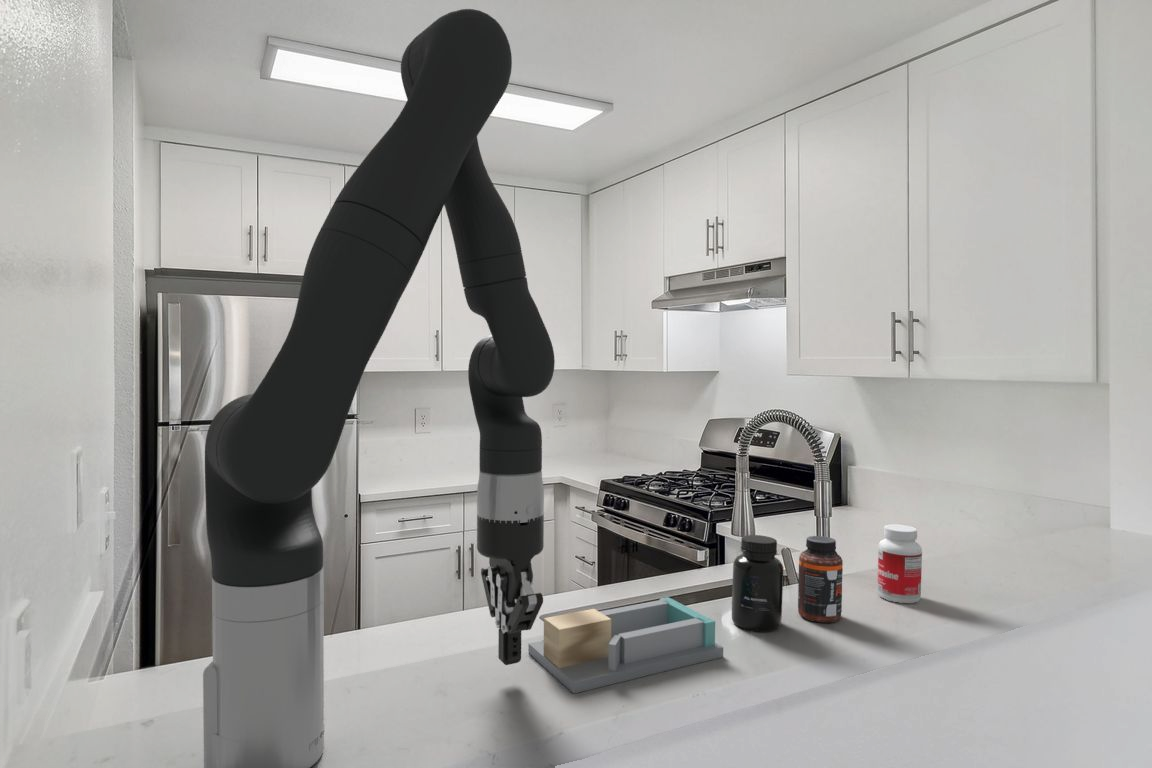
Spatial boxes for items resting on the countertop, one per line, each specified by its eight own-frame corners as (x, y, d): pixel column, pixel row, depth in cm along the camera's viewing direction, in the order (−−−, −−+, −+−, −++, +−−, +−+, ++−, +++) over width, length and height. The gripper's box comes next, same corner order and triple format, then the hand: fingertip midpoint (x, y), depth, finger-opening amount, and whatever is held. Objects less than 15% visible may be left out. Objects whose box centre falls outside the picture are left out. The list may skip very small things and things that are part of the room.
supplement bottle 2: (844, 626, 97) (846, 545, 97) (800, 622, 98) (801, 542, 98) (837, 611, 103) (839, 534, 103) (795, 608, 104) (797, 532, 104)
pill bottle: (869, 592, 112) (870, 523, 111) (903, 590, 113) (905, 522, 112) (893, 605, 106) (895, 533, 105) (929, 603, 107) (931, 531, 106)
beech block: (559, 668, 80) (559, 629, 80) (543, 655, 84) (543, 618, 84) (610, 656, 84) (611, 619, 84) (593, 644, 87) (594, 608, 87)
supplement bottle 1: (747, 635, 94) (748, 546, 93) (722, 617, 100) (724, 534, 100) (792, 630, 96) (793, 543, 95) (765, 613, 102) (766, 531, 102)
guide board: (573, 693, 77) (573, 655, 77) (528, 652, 87) (528, 619, 87) (723, 656, 87) (723, 623, 87) (666, 624, 97) (666, 594, 97)
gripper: (459, 502, 83) (459, 646, 84) (501, 526, 71) (501, 693, 72) (517, 497, 87) (517, 635, 87) (567, 518, 75) (565, 678, 76)
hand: (509, 661), depth 80 cm, fingers closed
